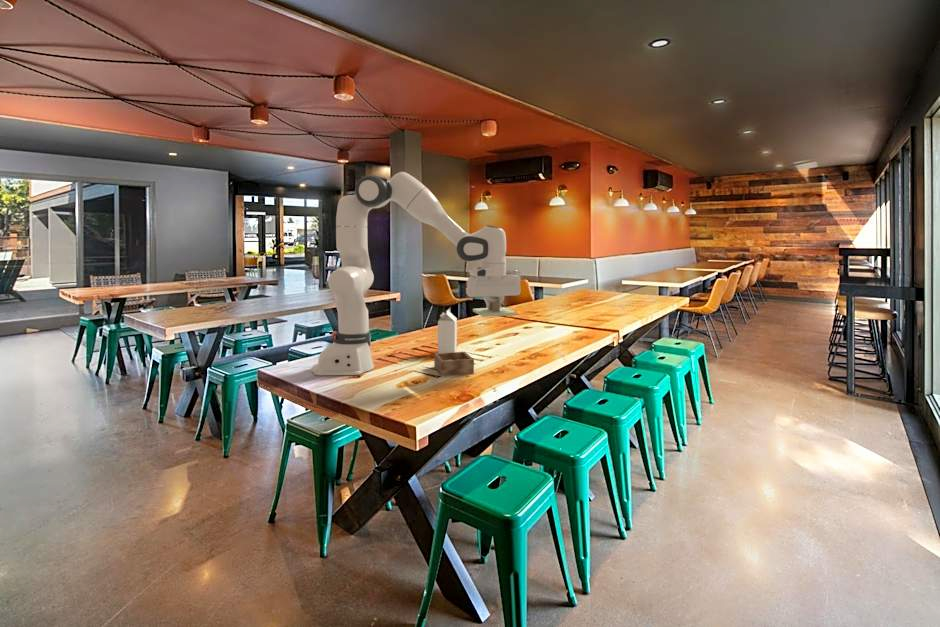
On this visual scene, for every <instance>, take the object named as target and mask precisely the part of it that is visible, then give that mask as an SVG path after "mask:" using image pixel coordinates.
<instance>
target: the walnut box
mask: <svg viewBox="0 0 940 627" xmlns="http://www.w3.org/2000/svg"><path fill="white" fill-rule="evenodd" d="M433 355H434V356H433V357H434V358H433V359H434V363H433V365H434V368H435V370H437V372H438V374H440V376H442V377H447V376H458V375H459V376H460V375H471V374H474V373H475V372H474V370H475V360H474V358H473V357H471V355H469V353H467V352H466V351H457V352H450V353H438V352H437V353H433ZM445 360H447V361H445Z"/></svg>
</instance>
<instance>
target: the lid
mask: <svg viewBox="0 0 940 627" xmlns="http://www.w3.org/2000/svg"><path fill="white" fill-rule="evenodd" d="M487 300H488V302H489V303H491V304H492V306H491V307H492V308H490V309H487V307H480V308H472V312H473V313H475V314H477V315H479V316H481V317H482V318H483V317H484V318H486V317H502V316H504V317H505V316H516V315H517V312H516V311H514V310H512V309H510V308H507V307H505V306H501V308H500V302H499V301H498V300H496V299H487Z"/></svg>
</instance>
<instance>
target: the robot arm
mask: <svg viewBox="0 0 940 627" xmlns="http://www.w3.org/2000/svg"><path fill="white" fill-rule="evenodd" d="M354 190H355V191H354V192H355V194H346V195H344V196H342V197H340V198H339V200H338V201H337V202H338V203H337V208H336V209H337V210H336V216H335V240H336V241H335V242H336V245H335V246H336V250H337V252H338V254H339V257H340V261H341V266H340V267H337V268H336V269H335V270H334V271H333V272H332V273H331V274H330V275H329V277H328V281H327V285H328V288H329V290H330V291H331V293H332V294H333V298H334V302H335V305H336V311H337V322H338V323H337V324H338V327H337V328H338V331H336V330H335V331H332V333H331V337H332V341H333V342H332V343H331V344H329V345H328V346H327V347H325V348H324V349H322V351H320V354H319V355H318V361H317V363H316V364H314V365H313V366H312V370H311V372H312V374H313V375H315V376H358V375H361V374H363V373H365V372H368V371H372V370H373V369H374V368H375V365H374V362H373V358H372V353H371V347H370V346H371V342H372V341H371V338H372V337H371V331H370V330H369V329H370V328H369V327H370V324H369V323H370V322H369V321H370V320H369V309H368V307H367V304H366V302H365V297H364V292H366V291H368V290H369V289H370V288H371V286H373V283H374V279H375V276H374V273H373V270H372V265H371V260H370V256H369V255H370V254H369V248H368V247H369V246H368V237H369V236H368V216H369V212H370V211H371V212H372V211H375V210H378V209H382V208H385V207H386V206H388V205H389V204H390V202H395V203H397V205H399V206H400V207H401V208H402V209H403V210H405V211H406V212H407V213H408V214H409V215H410V216H411V217H413V218H415V219H416V220H418V221H419V222H421V223H423V224H426V225H429V226H431V227H433V228H434V229H437V230H438V231H439V232H440V233H441V234H443V235H444V237H446V238H447V239H448V240H449V241H450V242H451V243H452V245H454V246H455V249H456V253H457V255H458V257H459V258H460V259H461V260H463V261H464V262H467V263H472V262H473V263H474V262H475V261H479V260H480V261H481V265H479V266H478V267H475V268H472V269H469V275H470V276H469V278H468V279H467V281H466V282H467V283H466V284H467V285H466V295H467V296H468V297H470V298H481V297H482V298H483V300H484V302H485V305H486V307H485V308H487V309H490V308H492V307H491V306H492V304H491V303H489V302H488V300H490V297H498V298H499V301H498V302H500V308H501V307H502V303H504V301H505V296H508V297H509V296H520V294H521V293H522V291H521V290H522V289H521V288H522V287H521V278H522V277H521V273H520V272H519V271H518V270H515V269H514V270H510V269H509V270H508V269H507V260H506V254H507V237H506V236H507V235H506V231H505V230H504V229H503V228H502V227H499V226H496V225H495V226H494V225H484V226H483V227H482V228H480V229H479V230H477V231H475V232H473V233H469V232H468V231H465V230H464V229H462V227H461V226H459V224H458V223H456V221H454V220H453V219H452V218H451V217H450V216H449V215H448V214H447V212H446V211H445V209H444V208H443V206H442V204H441V203H440V201H439V200H438V198H437V197H436V196H435V195H434V194H433V193H432V191H431V190H430V189H429V188H428V187H427V186H425V185H424V184H423V183H422V182H421V181H419V179H417V178H416V177H414V176H412V175H411V174H409V173H407V172H406V171H399V172H397V173H395V174H394V175H392V177H390V179H388V178H386V177H381V176H378V175H374V174H373V175H369V174H368V175H365V176H363V177H361V178H359V180H357V182H356V185H355V189H354Z"/></svg>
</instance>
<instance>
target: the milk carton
mask: <svg viewBox="0 0 940 627" xmlns="http://www.w3.org/2000/svg"><path fill="white" fill-rule="evenodd" d="M439 317H440V318H439V319H438V321H437V353H450V352H458V350H457V349H458V344H457V342H458V340H457V339H458V325H457V324H458V318H457V317H456V316H455V315H454V314H453V313H452V312H451V311H450V308H448V309H447V310H446V311H445V312H442V313H441V314H440V315H439Z"/></svg>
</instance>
